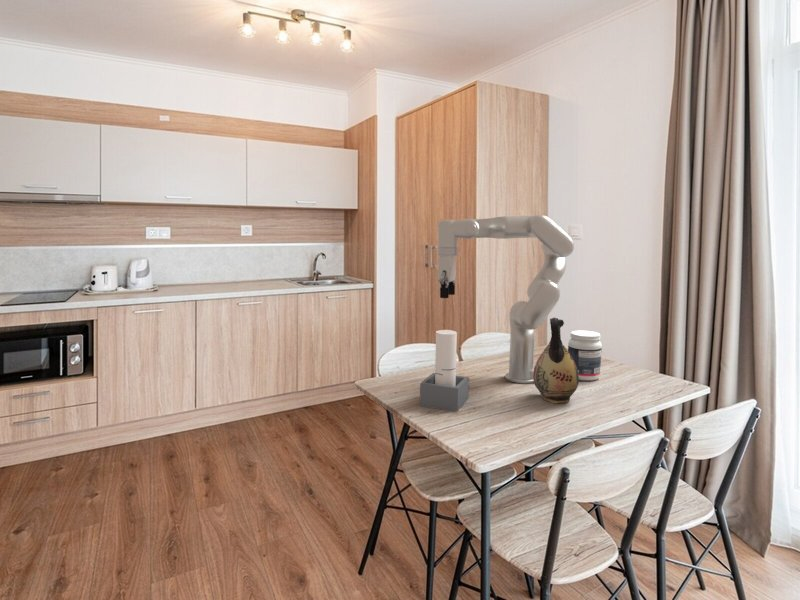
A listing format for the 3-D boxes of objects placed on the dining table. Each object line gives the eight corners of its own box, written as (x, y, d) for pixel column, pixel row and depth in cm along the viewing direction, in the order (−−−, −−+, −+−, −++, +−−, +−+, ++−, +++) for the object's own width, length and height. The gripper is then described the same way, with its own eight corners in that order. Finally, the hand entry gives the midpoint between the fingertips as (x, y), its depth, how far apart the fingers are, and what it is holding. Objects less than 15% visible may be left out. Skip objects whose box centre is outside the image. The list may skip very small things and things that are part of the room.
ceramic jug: (535, 389, 185) (538, 311, 180) (578, 395, 179) (583, 314, 174) (528, 404, 169) (532, 319, 165) (576, 411, 163) (581, 322, 159)
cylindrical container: (454, 406, 167) (456, 334, 163) (433, 404, 168) (434, 333, 165) (455, 399, 174) (457, 330, 170) (435, 397, 175) (437, 329, 172)
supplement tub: (564, 371, 208) (566, 329, 205) (595, 373, 206) (598, 330, 203) (569, 380, 195) (572, 335, 193) (603, 382, 193) (606, 337, 191)
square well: (468, 398, 174) (468, 377, 173) (457, 411, 162) (458, 388, 161) (432, 393, 180) (433, 372, 179) (419, 405, 167) (420, 383, 166)
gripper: (444, 251, 198) (444, 293, 200) (432, 253, 181) (432, 299, 184) (462, 251, 195) (462, 293, 197) (451, 253, 179) (451, 299, 181)
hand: (447, 296), depth 191 cm, fingers open, 9 cm apart
